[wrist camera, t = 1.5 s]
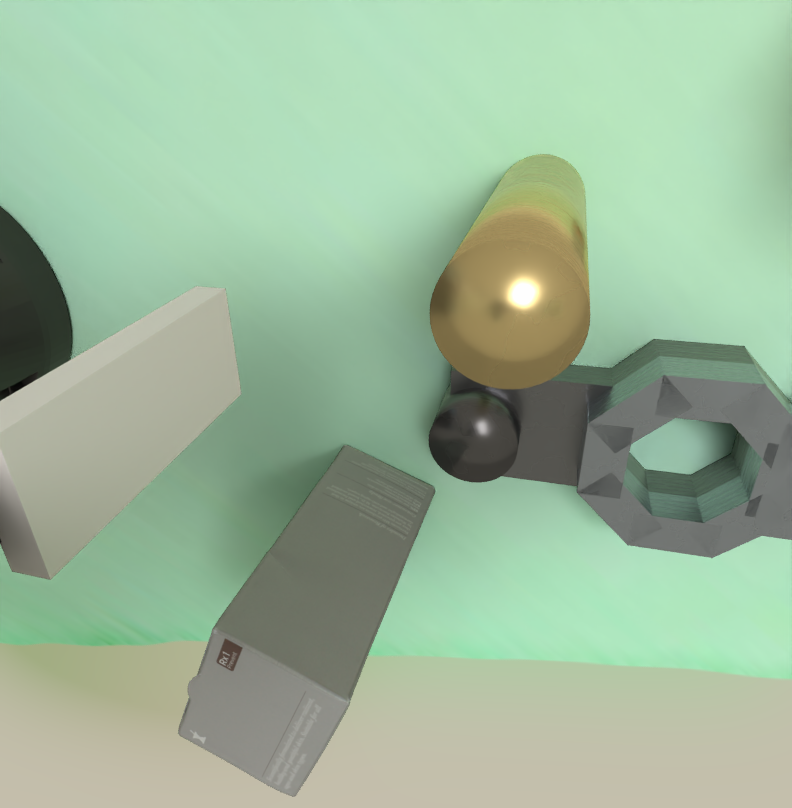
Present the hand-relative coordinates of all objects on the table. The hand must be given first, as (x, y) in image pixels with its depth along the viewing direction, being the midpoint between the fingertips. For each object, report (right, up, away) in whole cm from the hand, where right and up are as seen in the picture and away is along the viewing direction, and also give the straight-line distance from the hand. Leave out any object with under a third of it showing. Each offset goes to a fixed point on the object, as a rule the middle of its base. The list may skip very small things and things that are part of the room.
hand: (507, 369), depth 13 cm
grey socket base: (+12, -2, +19) cm, 22 cm away
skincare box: (-4, -7, +27) cm, 28 cm away
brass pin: (+4, +9, +15) cm, 18 cm away
